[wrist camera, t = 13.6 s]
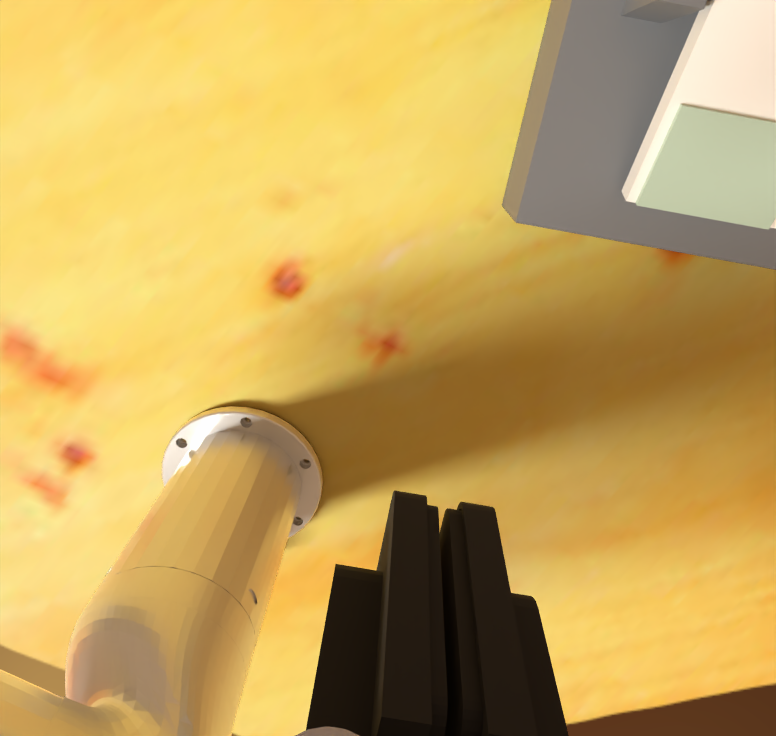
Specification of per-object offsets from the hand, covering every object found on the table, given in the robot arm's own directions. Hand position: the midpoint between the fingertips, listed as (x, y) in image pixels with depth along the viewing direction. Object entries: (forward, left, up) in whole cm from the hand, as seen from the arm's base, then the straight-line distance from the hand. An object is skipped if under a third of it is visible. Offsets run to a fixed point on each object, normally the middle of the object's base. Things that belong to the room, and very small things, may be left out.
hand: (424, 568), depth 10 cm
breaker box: (+14, -18, -32) cm, 40 cm away
